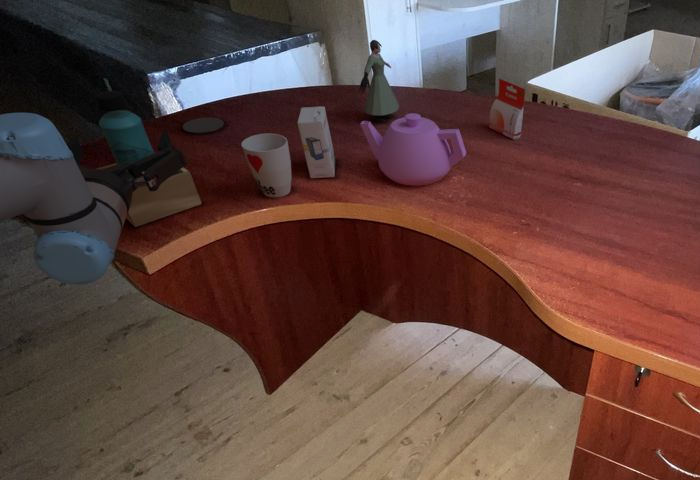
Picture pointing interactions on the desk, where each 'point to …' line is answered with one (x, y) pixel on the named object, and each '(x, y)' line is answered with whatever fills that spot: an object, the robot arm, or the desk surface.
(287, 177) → the cup
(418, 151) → the teapot
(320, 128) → the ink box
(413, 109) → the desk surface
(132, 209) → the crate
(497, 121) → the ink box
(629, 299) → the desk surface
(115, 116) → the beverage bottle
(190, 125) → the coaster
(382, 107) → the character figurine
